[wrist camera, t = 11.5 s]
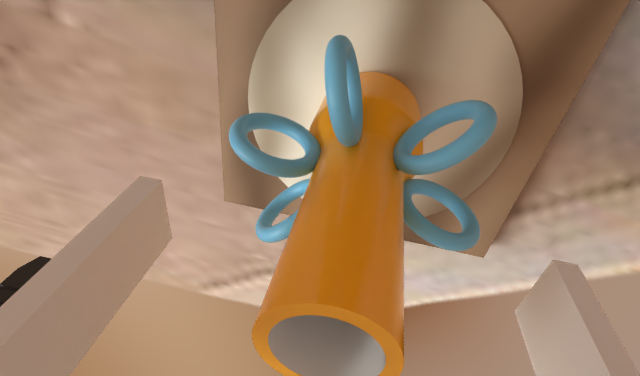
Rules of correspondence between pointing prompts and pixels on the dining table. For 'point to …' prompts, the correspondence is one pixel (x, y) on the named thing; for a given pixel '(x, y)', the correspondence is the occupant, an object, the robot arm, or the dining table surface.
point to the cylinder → (353, 218)
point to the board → (413, 83)
